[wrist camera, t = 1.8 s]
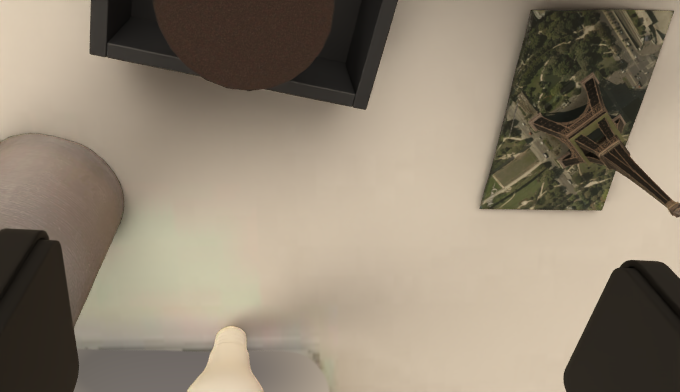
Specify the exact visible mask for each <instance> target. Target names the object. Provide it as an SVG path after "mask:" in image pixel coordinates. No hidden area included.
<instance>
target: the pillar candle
mask: <svg viewBox="0 0 680 392" xmlns="http://www.w3.org/2000/svg"><path fill="white" fill-rule="evenodd" d="M123 210H124V198H123V192H122V189H121V186H120V183H119V181H118V179H117V177H116V176H115V174H114V172H113V171H112V170H111V169H110V167H109V166H108V164H107V163H106V162H105V161H104V160H103V159H102V158H100V157H99V156H98V155H97V154H96V153H94V152H93V151H92V150H90V149H89V148H87V147H85V146H83V145H81V144H78V143H75V142H72V141H68V140H65V139H62V138H59V137H54V136H49V135H43V134H33V133H29V134H20V135H16V136H11V137H9V138H7V139H5V140H4V141H0V230H1V229H5V228H11V229H30V230H44V231H46V232H47V234H48V236H49V240H57V241H59V242H60V244H61V248H62V254H63V260H64V267H65V274H66V280H67V287H68V294H69V300H70V307H71V314H72V320H73V327H74V326H75V324H76V321H77V319H78V317H79V315H80V313H81V310H82V308H83V306H84V304H85V301H86V299H87V297H88V295H89V292H90V290H91V288H92V285H93V283H94V281H95V278H96V276H97V274H98V271H99V269H100V267H101V265H102V263H103V260H104V258H105V256H106V254H107V251H108V249H109V247H110V244H111V243H112V240H113V238H114V235H115V233H116V231H117V229H118V226H119V224H120V222H121V219H122V215H123Z"/></svg>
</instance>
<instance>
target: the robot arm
mask: <svg viewBox="0 0 680 392" xmlns="http://www.w3.org/2000/svg"><path fill="white" fill-rule="evenodd" d="M78 370H79V361H78V354H77V347H76V341H75V334H74V327H73V320H72V314H71V307H70V300H69V294H68V287H67V280H66V274H65V267H64V260H63V254H62V248H61V244H60V242H59V241H57V240H49V236H48V234H47V232H46V231H44V230H30V229H11V228H5V229H1V230H0V392H73V391H74V388H75V385H76V382H77V378H78ZM564 386H565V389H566V392H680V278H679V277H678V276H677V275H676V274H675V273H674V272H673V271H672V270H671V269H670V268H669V267H668V266H667V265H665V264H664V263H662V262H658V261H640V260H629V261H626V262H624V263H623V264H622V265H621V266H620V268H617V269H615V270H614V271H613V272H612V274H611V276H610V278H609V280H608V282H607V284H606V286H605V288H604V290H603V292H602V295H601V297H600V299H599V301H598V303H597V305H596V307H595V309H594V311H593V313H592V315H591V317H590V319H589V321H588V323H587V325H586V328H585V330H584V332H583V334H582V336H581V338H580V340H579V342H578V344H577V346H576V348H575V350H574V352H573V354H572V356H571V359H570V361H569V363H568V365H567V367H566V369H565V372H564Z"/></svg>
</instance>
